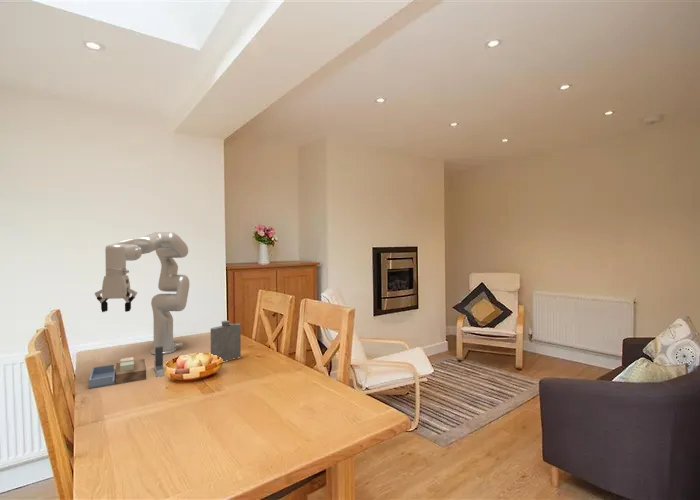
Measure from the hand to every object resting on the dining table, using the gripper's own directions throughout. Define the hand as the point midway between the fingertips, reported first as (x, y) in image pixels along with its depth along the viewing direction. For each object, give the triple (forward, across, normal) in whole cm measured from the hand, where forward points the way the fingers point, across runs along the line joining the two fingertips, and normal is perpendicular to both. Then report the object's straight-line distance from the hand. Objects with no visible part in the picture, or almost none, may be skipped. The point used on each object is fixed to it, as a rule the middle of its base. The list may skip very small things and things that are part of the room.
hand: (116, 311), depth 159 cm
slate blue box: (+28, +3, +5) cm, 29 cm away
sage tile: (+24, -6, +4) cm, 26 cm away
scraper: (+29, -16, -5) cm, 33 cm away
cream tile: (+25, -3, -2) cm, 25 cm away
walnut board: (+29, -6, 0) cm, 29 cm away
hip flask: (+29, -43, -17) cm, 54 cm away
